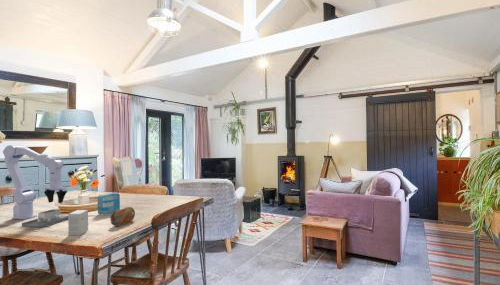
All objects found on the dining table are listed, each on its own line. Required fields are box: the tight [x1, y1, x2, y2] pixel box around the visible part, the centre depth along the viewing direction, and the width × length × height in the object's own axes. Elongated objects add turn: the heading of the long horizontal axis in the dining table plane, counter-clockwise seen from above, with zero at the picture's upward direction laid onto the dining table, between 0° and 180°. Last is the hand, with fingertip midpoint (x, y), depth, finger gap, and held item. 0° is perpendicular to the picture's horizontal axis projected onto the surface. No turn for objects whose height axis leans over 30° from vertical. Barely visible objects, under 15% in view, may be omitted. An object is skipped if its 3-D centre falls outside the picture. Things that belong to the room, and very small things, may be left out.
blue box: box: [97, 192, 121, 216], centre depth 173 cm, size 12×4×12 cm, turn 146°
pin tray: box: [21, 214, 68, 229], centre depth 154 cm, size 13×20×3 cm, turn 166°
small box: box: [67, 209, 89, 237], centre depth 135 cm, size 8×6×10 cm
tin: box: [110, 206, 136, 227], centre depth 149 cm, size 15×3×8 cm, turn 160°
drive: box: [37, 208, 61, 223], centre depth 154 cm, size 4×9×5 cm, turn 166°
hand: (55, 202), depth 164 cm, fingers open, 7 cm apart
